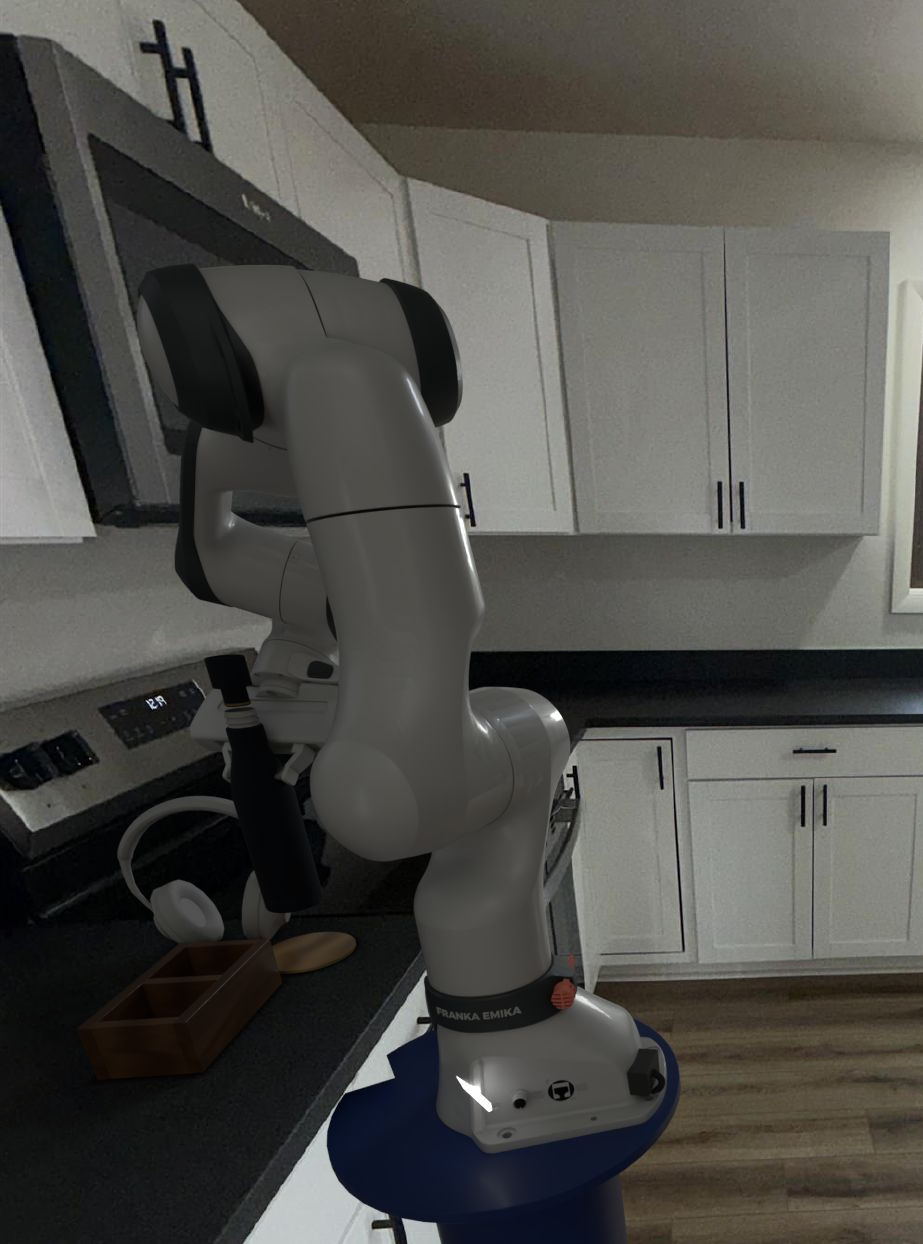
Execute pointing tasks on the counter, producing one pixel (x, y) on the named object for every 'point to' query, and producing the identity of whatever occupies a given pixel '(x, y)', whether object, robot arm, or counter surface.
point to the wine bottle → (264, 798)
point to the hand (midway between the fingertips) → (258, 782)
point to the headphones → (183, 904)
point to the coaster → (312, 951)
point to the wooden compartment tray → (181, 1010)
